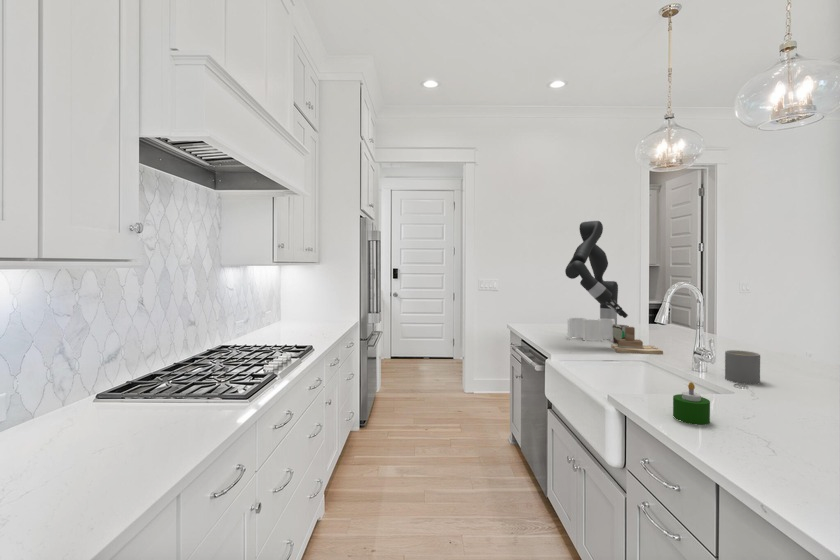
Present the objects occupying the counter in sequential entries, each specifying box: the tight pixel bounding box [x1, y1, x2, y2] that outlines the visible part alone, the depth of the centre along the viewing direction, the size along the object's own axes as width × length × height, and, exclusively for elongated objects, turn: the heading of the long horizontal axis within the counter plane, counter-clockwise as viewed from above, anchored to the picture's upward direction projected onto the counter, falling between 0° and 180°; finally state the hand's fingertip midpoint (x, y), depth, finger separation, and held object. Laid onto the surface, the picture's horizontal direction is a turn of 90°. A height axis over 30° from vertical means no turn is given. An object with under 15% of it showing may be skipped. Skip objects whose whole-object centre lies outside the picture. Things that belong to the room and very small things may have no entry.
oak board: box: [610, 343, 664, 355], centre depth 205 cm, size 14×20×2 cm
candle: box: [672, 381, 711, 426], centre depth 111 cm, size 8×8×10 cm
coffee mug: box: [724, 349, 761, 385], centre depth 151 cm, size 13×10×10 cm
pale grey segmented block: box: [567, 317, 615, 343], centre depth 237 cm, size 25×10×12 cm, turn 70°
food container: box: [612, 323, 630, 345], centre depth 223 cm, size 12×6×10 cm, turn 179°
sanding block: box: [617, 326, 644, 349], centre depth 205 cm, size 6×10×10 cm, turn 76°
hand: (624, 315), depth 206 cm, fingers open, 8 cm apart
